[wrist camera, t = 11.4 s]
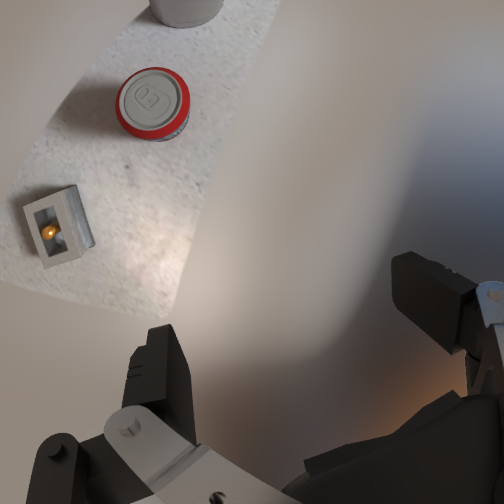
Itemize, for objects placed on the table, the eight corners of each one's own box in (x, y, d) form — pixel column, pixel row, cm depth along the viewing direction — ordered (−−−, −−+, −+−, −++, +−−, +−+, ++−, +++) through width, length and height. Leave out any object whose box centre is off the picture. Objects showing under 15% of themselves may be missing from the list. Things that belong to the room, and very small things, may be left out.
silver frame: (34, 201, 33) (22, 206, 30) (69, 187, 34) (58, 191, 30) (54, 259, 36) (44, 269, 33) (88, 248, 37) (80, 257, 33)
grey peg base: (32, 202, 34) (13, 210, 29) (76, 184, 35) (61, 190, 30) (51, 258, 37) (36, 273, 32) (95, 244, 38) (83, 258, 32)
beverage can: (162, 153, 36) (151, 155, 25) (122, 118, 34) (95, 106, 22) (201, 112, 35) (207, 95, 24) (161, 77, 33) (151, 47, 22)
